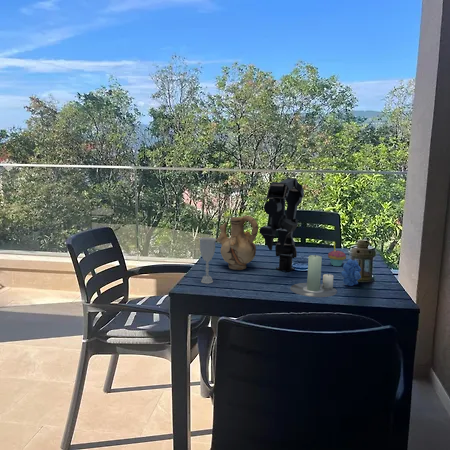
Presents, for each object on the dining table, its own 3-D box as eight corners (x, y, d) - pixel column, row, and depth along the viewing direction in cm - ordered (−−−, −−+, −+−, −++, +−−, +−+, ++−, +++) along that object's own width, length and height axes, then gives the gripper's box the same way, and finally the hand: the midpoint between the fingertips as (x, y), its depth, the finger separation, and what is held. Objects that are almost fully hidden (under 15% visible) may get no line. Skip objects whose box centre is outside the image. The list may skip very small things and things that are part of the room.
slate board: (304, 282, 190) (304, 279, 190) (344, 292, 179) (345, 288, 179) (281, 293, 176) (281, 289, 176) (323, 303, 165) (323, 300, 165)
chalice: (218, 280, 191) (218, 238, 188) (212, 284, 185) (213, 241, 182) (201, 278, 194) (202, 236, 191) (195, 282, 187) (196, 239, 184)
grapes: (350, 292, 178) (352, 263, 176) (336, 288, 184) (338, 259, 182) (368, 287, 186) (370, 259, 183) (354, 283, 191) (356, 255, 189)
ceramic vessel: (251, 262, 223) (253, 211, 219) (263, 272, 205) (265, 217, 200) (215, 263, 219) (215, 212, 215) (223, 274, 200) (224, 218, 196)
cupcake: (326, 266, 218) (327, 241, 216) (328, 262, 226) (330, 238, 224) (344, 268, 215) (346, 243, 213) (346, 264, 223) (348, 240, 221)
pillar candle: (307, 286, 181) (309, 252, 178) (320, 288, 179) (322, 253, 177) (306, 290, 176) (308, 255, 174) (319, 291, 175) (321, 256, 172)
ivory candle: (325, 285, 183) (326, 271, 182) (334, 287, 181) (335, 273, 180) (320, 287, 180) (321, 273, 179) (329, 289, 178) (330, 275, 177)
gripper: (282, 216, 180) (280, 255, 182) (305, 211, 194) (304, 247, 197) (259, 213, 187) (258, 250, 189) (283, 209, 201) (281, 244, 204)
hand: (276, 248), depth 195 cm, fingers open, 9 cm apart
